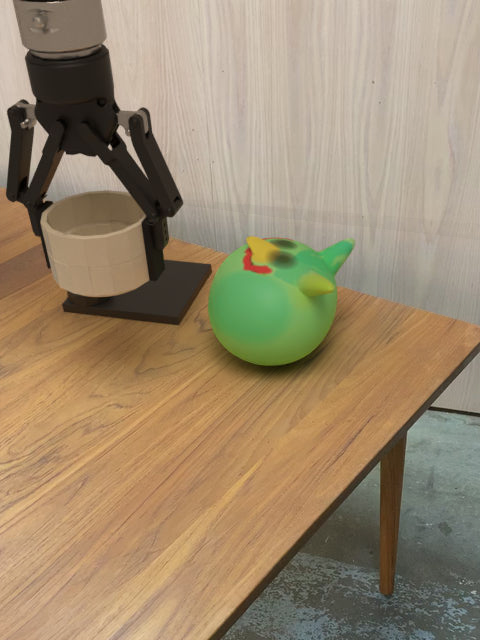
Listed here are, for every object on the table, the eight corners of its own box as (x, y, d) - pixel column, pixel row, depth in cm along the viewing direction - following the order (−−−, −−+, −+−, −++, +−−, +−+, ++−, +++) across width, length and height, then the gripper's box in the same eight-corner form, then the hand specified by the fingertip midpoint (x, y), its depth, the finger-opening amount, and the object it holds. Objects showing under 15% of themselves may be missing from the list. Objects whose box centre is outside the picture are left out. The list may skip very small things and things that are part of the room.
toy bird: (231, 307, 108) (224, 205, 98) (352, 317, 106) (357, 213, 96) (197, 383, 96) (185, 275, 86) (333, 397, 93) (337, 287, 83)
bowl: (36, 294, 83) (21, 231, 78) (82, 245, 90) (70, 186, 86) (135, 306, 80) (125, 243, 75) (173, 255, 88) (166, 195, 83)
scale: (63, 312, 109) (58, 293, 107) (105, 261, 119) (102, 243, 117) (178, 326, 105) (176, 306, 103) (212, 272, 116) (210, 253, 114)
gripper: (-73, 52, 70) (-8, 273, 85) (175, 66, 65) (197, 298, 80) (-29, 30, 75) (25, 242, 90) (204, 41, 70) (220, 263, 85)
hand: (106, 269), depth 85 cm, fingers closed on bowl, 11 cm apart
